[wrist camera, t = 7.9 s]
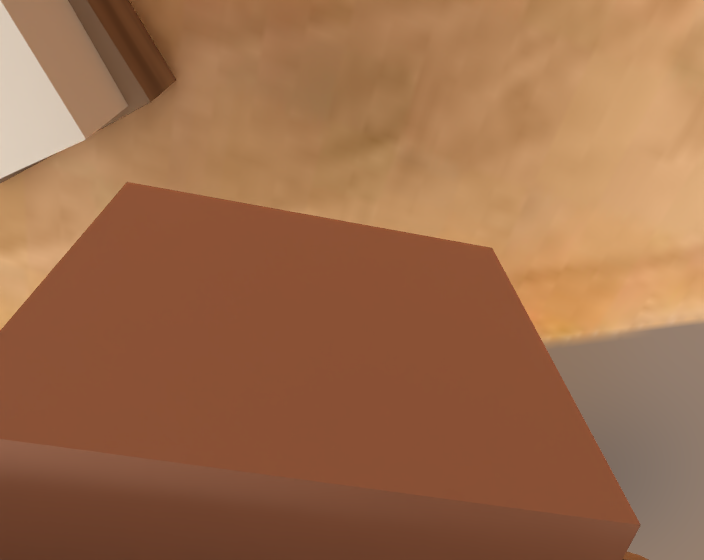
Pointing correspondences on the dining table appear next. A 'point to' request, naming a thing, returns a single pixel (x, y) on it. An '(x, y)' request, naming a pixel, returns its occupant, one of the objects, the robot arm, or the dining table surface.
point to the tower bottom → (122, 53)
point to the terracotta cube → (288, 399)
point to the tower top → (49, 83)
